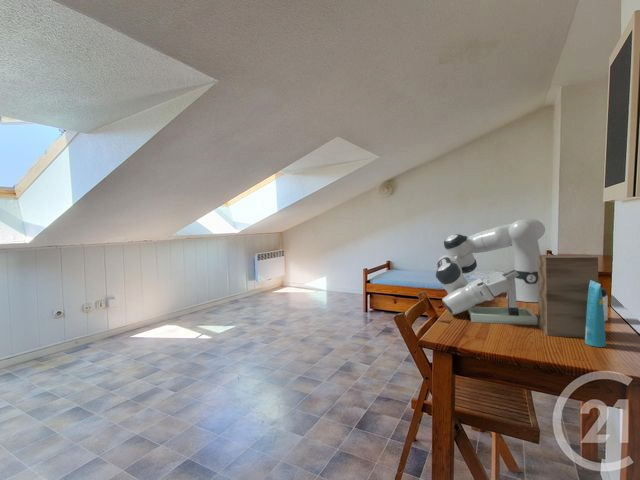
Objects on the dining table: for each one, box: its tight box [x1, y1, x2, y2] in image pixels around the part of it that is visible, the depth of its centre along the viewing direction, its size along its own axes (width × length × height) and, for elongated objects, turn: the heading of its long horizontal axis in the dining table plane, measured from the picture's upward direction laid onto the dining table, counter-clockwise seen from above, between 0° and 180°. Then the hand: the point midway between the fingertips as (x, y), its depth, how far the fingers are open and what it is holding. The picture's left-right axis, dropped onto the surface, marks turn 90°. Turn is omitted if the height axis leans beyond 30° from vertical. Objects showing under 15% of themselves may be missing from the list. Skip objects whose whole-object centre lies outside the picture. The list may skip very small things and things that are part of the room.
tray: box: [468, 305, 538, 326], centre depth 130 cm, size 13×22×3 cm, turn 70°
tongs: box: [506, 273, 519, 316], centre depth 129 cm, size 3×17×3 cm
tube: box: [584, 280, 607, 348], centre depth 100 cm, size 7×5×19 cm, turn 165°
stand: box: [537, 254, 599, 339], centre depth 112 cm, size 10×14×26 cm
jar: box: [600, 286, 609, 322], centre depth 125 cm, size 9×8×12 cm
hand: (516, 272), depth 128 cm, fingers closed on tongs, 3 cm apart
